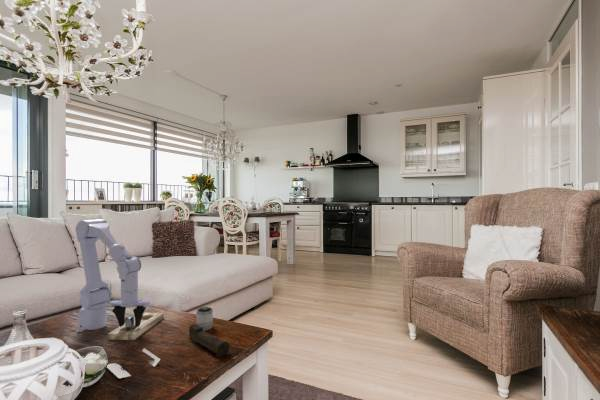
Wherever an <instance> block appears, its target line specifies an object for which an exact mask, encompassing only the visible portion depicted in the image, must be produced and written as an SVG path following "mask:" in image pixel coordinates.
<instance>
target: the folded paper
mask: <svg viewBox="0 0 600 400" xmlns="http://www.w3.org/2000/svg"><path fill="white" fill-rule="evenodd" d="M141 351H142V352H143V353H145V354H146V355H147V356H149V357H150V358H152V359H153V360H149V359H148V360H145V362H147V361H148V362H149V363H148V362H147V363H148V364H150V366H153V367H156V366H157V365H158V364H159V362H160V360H161V358H160V357H158V356H157V355H155V354H153V353H152V352H151V351H149V350H148V349H146V348H145V347H144V348H143V349H142V350H141ZM117 363H118V362H113V363H108V365H107V364H106V365H107V367H106V368H107V369H108V371H110V372H111V373H113V375H114V376H115V377H117V378H118V379H122V378H128V377H131V376H132V375H131V374H130V373H129V372H128V371H127V370H126V369H125V368H126V367H125V365H124V364H123V363H122V364H121V365H120V364H119V363H118V364H117Z"/></svg>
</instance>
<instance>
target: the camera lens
mask: <svg viewBox="0 0 600 400" xmlns="http://www.w3.org/2000/svg"><path fill="white" fill-rule="evenodd" d="M213 310H214V309H213V308H211V307H208V306H203V307H200V308H197V310H196V312H195V313H196V316H195V317H196V325H198V326H200V327H202V328H203V331H205V332H206V331H208V330H211V329H212V328H213V323H214V322H213V321H214V320H213V319H214V314H213V312H214V311H213Z"/></svg>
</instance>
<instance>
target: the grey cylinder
mask: <svg viewBox="0 0 600 400" xmlns="http://www.w3.org/2000/svg"><path fill="white" fill-rule="evenodd" d="M134 317H135V316H134V315H131V316H130V315H129V316H125V331H133V330H134Z"/></svg>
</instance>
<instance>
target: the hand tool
mask: <svg viewBox="0 0 600 400" xmlns="http://www.w3.org/2000/svg"><path fill="white" fill-rule="evenodd" d="M188 335H189V337H190V340H191V341H192V342H194V344H200V345H201V346H204V347H205V348H207V350H210V351H211V352H213V353H215V354H216V357H217V358H220V359H221V357H224V356H226V355H227V354H228V353H229V349H230V342H229V341H224V340H221V339H220V338H218V336H214V335H212V334H210V333H208V332H207V331H206V330H205V331H203V328H202V327H200V326H198V325H197V324H194V323H192V324H190V325H189V327H188Z"/></svg>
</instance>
